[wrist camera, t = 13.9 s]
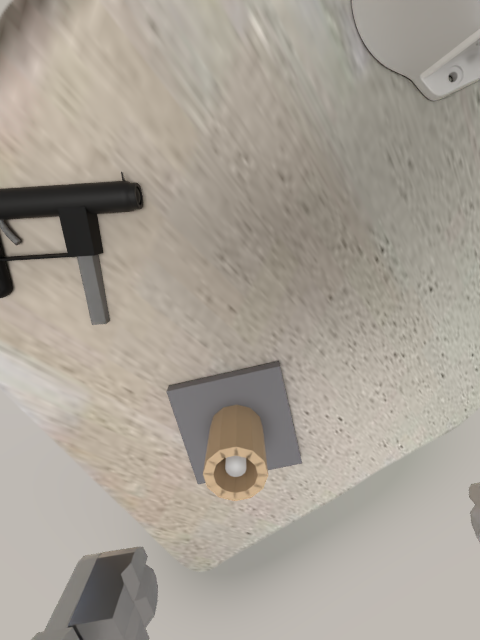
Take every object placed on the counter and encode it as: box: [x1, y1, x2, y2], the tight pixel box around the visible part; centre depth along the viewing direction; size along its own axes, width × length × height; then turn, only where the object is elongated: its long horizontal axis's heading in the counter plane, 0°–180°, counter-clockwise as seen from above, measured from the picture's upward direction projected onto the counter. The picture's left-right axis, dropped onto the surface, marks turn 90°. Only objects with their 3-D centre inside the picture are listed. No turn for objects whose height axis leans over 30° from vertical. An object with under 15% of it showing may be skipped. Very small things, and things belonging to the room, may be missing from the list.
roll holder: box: [167, 361, 302, 484], centre depth 38 cm, size 14×14×8 cm
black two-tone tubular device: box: [0, 172, 143, 325], centre depth 36 cm, size 3×20×16 cm
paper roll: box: [203, 405, 268, 501], centre depth 37 cm, size 6×6×8 cm
